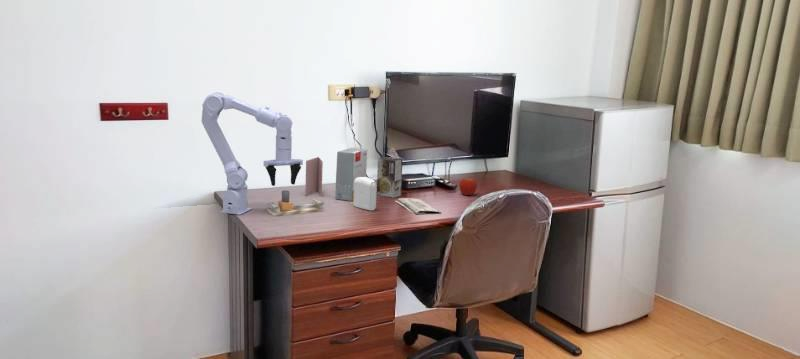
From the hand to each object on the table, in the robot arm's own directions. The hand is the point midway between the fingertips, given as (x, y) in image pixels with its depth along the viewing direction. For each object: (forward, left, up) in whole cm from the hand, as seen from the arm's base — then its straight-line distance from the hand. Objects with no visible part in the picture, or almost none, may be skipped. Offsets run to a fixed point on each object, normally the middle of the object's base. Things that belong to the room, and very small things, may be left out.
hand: (283, 184), depth 236 cm
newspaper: (+28, -46, -11) cm, 55 cm away
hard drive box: (+34, -15, -11) cm, 39 cm away
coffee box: (+44, -29, -11) cm, 54 cm away
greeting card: (+32, -1, -11) cm, 34 cm away
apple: (+60, -61, -11) cm, 87 cm away
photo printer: (+18, -26, -11) cm, 34 cm away
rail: (+2, -4, -10) cm, 12 cm away
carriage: (-1, -1, -9) cm, 9 cm away
